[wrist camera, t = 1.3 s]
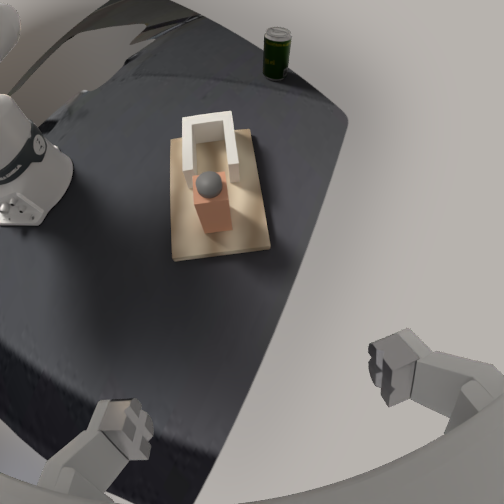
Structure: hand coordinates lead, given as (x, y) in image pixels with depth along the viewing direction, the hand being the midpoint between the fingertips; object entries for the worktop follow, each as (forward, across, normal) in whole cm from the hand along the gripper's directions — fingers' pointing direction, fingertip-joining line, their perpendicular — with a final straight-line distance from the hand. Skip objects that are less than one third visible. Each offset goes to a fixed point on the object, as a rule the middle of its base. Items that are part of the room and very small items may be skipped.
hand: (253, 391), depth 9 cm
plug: (+35, +2, +1) cm, 35 cm away
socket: (+42, +1, -8) cm, 42 cm away
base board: (+40, +2, -3) cm, 40 cm away
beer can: (+57, -16, -24) cm, 64 cm away
